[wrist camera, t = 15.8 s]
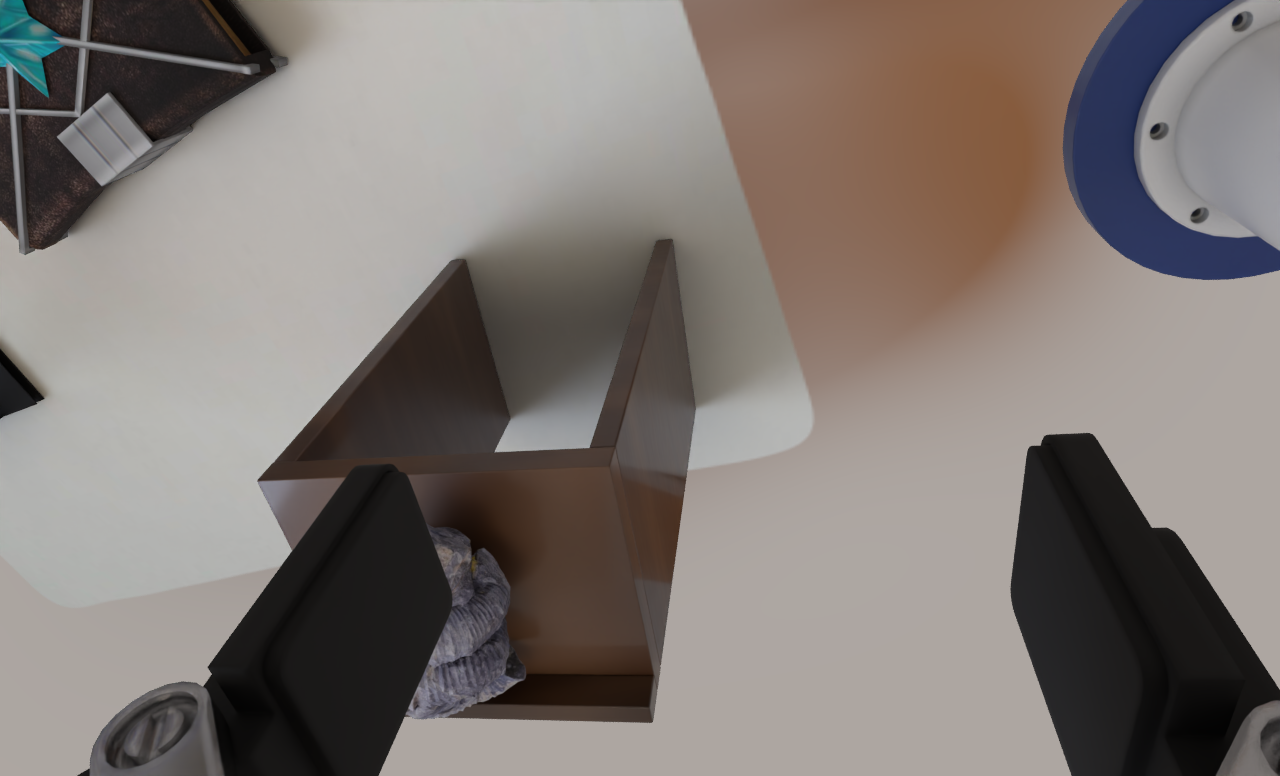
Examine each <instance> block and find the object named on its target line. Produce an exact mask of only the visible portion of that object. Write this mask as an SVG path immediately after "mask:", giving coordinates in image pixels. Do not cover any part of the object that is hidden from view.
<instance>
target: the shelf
mask: <svg viewBox="0 0 1280 776" xmlns="http://www.w3.org/2000/svg"><path fill="white" fill-rule="evenodd" d="M695 410H696V408H695V400H694V393H693V386H692V378H691V371H690V364H689V357H688V349H687V342H686V335H685V327H684V320H683V313H682V306H681V298H680V291H679V284H678V276H677V269H676V262H675V255H674V247H673V240H672V239H669V240H658V241H656V243H655V246H654V249H653V252H652V255H651V259H650V262H649V265H648V268H647V271H646V274H645V277H644V280H643V283H642V287H641V290H640V293H639V296H638V299H637V302H636V305H635V308H634V311H633V315H632V318H631V321H630V324H629V327H628V330H627V333H626V336H625V339H624V343H623V346H622V349H621V352H620V355H619V358H618V361H617V364H616V367H615V371H614V374H613V377H612V380H611V383H610V386H609V389H608V392H607V395H606V399H605V402H604V405H603V408H602V411H601V414H600V417H599V420H598V423H597V427H596V430H595V433H594V436H593V439H592V442H591V445H590V448H582V449H560V450H538V451H516V452H494V451H495V449H496V447H497V445H498V443H499V441H500V439H501V437H502V435H503V433H504V431H505V429H506V427H507V425H508V423H509V421H510V416H509V413H508V409H507V406H506V402H505V399H504V395H503V392H502V388H501V385H500V381H499V378H498V374H497V371H496V367H495V363H494V360H493V356H492V353H491V349H490V346H489V342H488V339H487V335H486V332H485V328H484V325H483V321H482V318H481V314H480V311H479V307H478V303H477V300H476V296H475V293H474V289H473V286H472V282H471V279H470V275H469V272H468V268H467V265H466V261H465V260H464V259H463V260H453V261H450V262H449V263H448V265H447V266H446V267H445V268H444V269H443V270H442V271H441V272H440V274H439V275H438V276H437V277H436V278H435V279H434V280H433V282H432V283H431V284H430V285H429V286H428V287H427V288H426V290H425V291H424V292H423V293H422V294H421V295H420V296H419V298H418V299H417V300H416V301H415V302H414V303H413V304H412V306H411V307H410V308H409V309H408V310H407V311H406V312H405V313H404V315H403V316H402V317H401V318H400V319H399V320H398V321H397V323H396V324H395V325H394V326H393V327H392V328H391V329H390V331H389V332H388V333H387V334H386V335H385V336H384V337H383V339H382V340H381V341H380V342H379V343H378V344H377V345H376V347H375V348H374V349H373V350H372V351H371V352H370V353H369V354H368V356H367V357H366V358H365V359H364V360H363V361H362V362H361V364H360V365H359V366H358V367H357V368H356V369H355V370H354V372H353V373H352V374H351V375H350V376H349V377H348V378H347V380H346V381H345V382H344V383H343V384H342V385H341V386H340V388H339V389H338V390H337V391H336V392H335V393H334V394H333V395H332V397H331V398H330V399H329V400H328V401H327V402H326V403H325V405H324V406H323V407H322V408H321V409H320V410H319V411H318V413H317V414H316V415H315V416H314V417H313V418H312V419H311V421H310V422H309V423H308V424H307V425H306V426H305V427H304V428H303V430H302V431H301V432H300V433H299V434H298V435H297V436H296V438H295V439H294V440H293V441H292V442H291V443H290V444H289V446H288V447H287V448H286V449H285V450H284V451H283V452H282V454H281V455H280V456H279V457H278V458H277V459H276V460H275V462H274V463H272V464H271V466H270V467H269V468H268V469H267V470H266V471H265V472H264V473H263V475H262V476H261V477H260V478H259V479H258V481H257V482H258V484H259V486H260V488H261V490H262V492H263V494H264V496H265V498H266V500H267V501H268V503H269V505H270V507H271V509H272V511H273V513H274V515H275V517H276V519H277V521H278V523H279V525H280V527H281V529H282V531H283V533H284V535H285V537H286V539H287V541H288V543H289V545H290V547H291V549H292V551H293V549H294V548H295V547H296V545H297V544H298V543H299V541H300V540H301V538H302V537H303V536H304V534H305V533H306V532H307V530H308V529H309V527H310V526H311V525H312V523H313V522H314V521H315V519H316V518H317V516H318V515H319V514H320V512H321V511H322V510H323V508H324V507H325V505H326V504H327V503H328V501H329V500H330V499H331V497H332V496H333V495H334V493H335V492H336V490H337V489H338V488H339V486H340V485H341V484H342V482H343V481H344V479H345V478H346V477H347V475H348V474H349V473H350V471H351V470H352V469H353V468H354V467H355V466H358V465H369V464H393V465H394V466H395V467H396V468H397V469H398V471H399V472H403V473H405V474H406V475H407V476H408V478H409V480H410V482H411V485H412V488H413V490H414V493H415V496H416V498H417V501H418V504H419V506H420V509H421V511H422V514H423V517H424V519H425V522H426V523H427V524H428V525H430V526H432V527H434V528H437V527H449V528H453V529H457V530H458V531H460V532H461V533H462V534H464V535H465V536H466V537H468V538H469V539H470V545H471V554H472V555H474V554H475V553H476V551H477V550H479V549H482V548H485V549H486V550H487V551H488V552H489V553H491V554H492V556H493V557H494V558H495V560H496V561H497V563H498V565H499V568H500V569H501V571H502V572H503V573H504V575H505V578H506V579H507V582H508V583H509V585H510V587H511V589H510V604H509V608H508V611H507V614H506V616H505V618H506V621H507V632H508V636H509V644H510V645H511V646H512V647H513V649H514V650H515V652H516V654H517V656H518V658H519V659H520V661H521V662H522V663H523V664H524V665H525V668H526V678H525V680H523V681H519V682H517V683H516V684H515V685H513V686H512V687H510V688H509V689H508V690H506V691H505V692H504V693H502V694H500V695H497V696H496V697H492V698H490V699H489V700H487V701H484V702H478V703H477V704H472V706H471V707H467V706H466V707H465V708H464V710H463V711H458V713H456V714H451V715H449V716H448V717H444V718H480V719H519V720H560V721H602V722H640V723H641V722H642V723H652V722H653V718H654V711H655V704H656V696H657V689H658V682H659V675H660V665H661V659H662V652H663V645H664V637H665V630H666V622H667V615H668V608H669V601H670V593H671V586H672V578H673V572H674V564H675V557H676V549H677V542H678V535H679V527H680V520H681V512H682V505H683V498H684V491H685V484H686V476H687V469H688V462H689V454H690V447H691V440H692V432H693V425H694V418H695ZM405 717H411V716H409V715H405ZM439 718H443V717H439Z"/></svg>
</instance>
